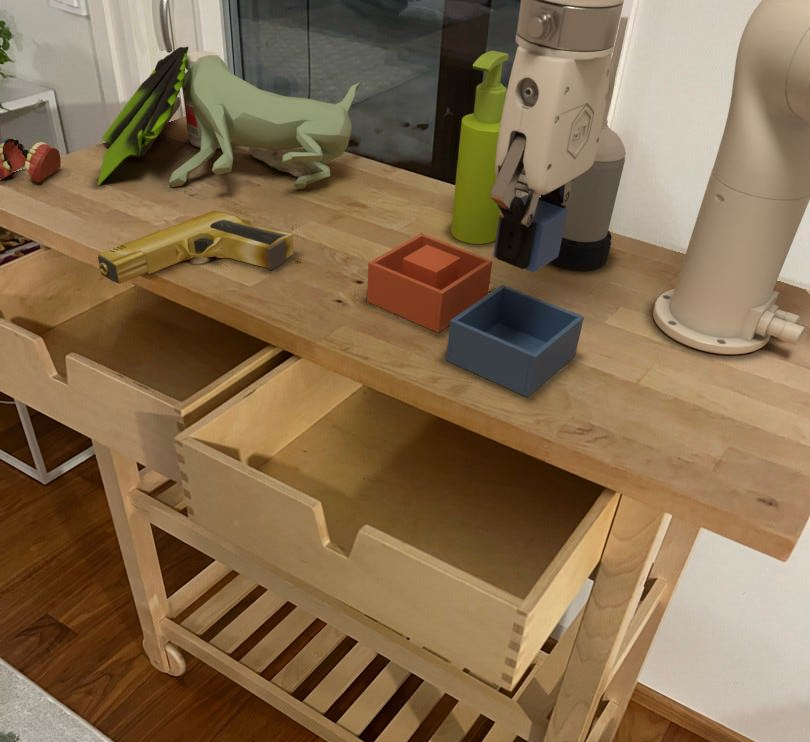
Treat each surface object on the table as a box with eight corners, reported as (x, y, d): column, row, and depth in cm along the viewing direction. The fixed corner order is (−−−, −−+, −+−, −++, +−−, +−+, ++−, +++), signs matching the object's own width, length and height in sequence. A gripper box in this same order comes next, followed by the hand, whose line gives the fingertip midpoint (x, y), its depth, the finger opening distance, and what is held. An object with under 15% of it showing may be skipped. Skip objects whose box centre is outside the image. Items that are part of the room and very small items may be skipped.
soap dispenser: (439, 239, 101) (455, 56, 87) (462, 218, 105) (482, 41, 91) (482, 251, 99) (506, 67, 85) (505, 230, 104) (531, 52, 90)
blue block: (558, 256, 76) (568, 209, 73) (534, 273, 73) (543, 225, 70) (517, 241, 78) (525, 194, 75) (492, 256, 75) (499, 209, 72)
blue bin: (575, 356, 84) (584, 316, 81) (527, 397, 79) (535, 357, 75) (496, 323, 88) (502, 284, 85) (445, 360, 82) (450, 320, 79)
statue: (373, 204, 116) (349, 70, 117) (378, 150, 103) (351, 2, 105) (180, 228, 113) (159, 91, 115) (161, 176, 100) (137, 23, 102)
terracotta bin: (487, 298, 91) (493, 260, 88) (438, 333, 86) (442, 293, 83) (418, 270, 95) (421, 232, 92) (367, 301, 90) (367, 262, 86)
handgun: (299, 236, 94) (228, 203, 99) (164, 294, 83) (92, 253, 88) (299, 257, 96) (230, 223, 101) (167, 316, 85) (97, 275, 90)
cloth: (165, 45, 115) (179, 59, 117) (75, 175, 116) (90, 187, 118) (214, 40, 100) (229, 57, 101) (110, 190, 101) (127, 204, 102)
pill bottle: (238, 137, 120) (231, 51, 112) (225, 152, 116) (217, 65, 108) (196, 132, 121) (187, 47, 113) (182, 147, 116) (171, 59, 108)
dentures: (37, 147, 102) (-21, 144, 103) (47, 183, 104) (-9, 179, 106) (61, 134, 106) (5, 132, 107) (70, 169, 109) (16, 166, 110)
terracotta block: (456, 295, 91) (460, 257, 87) (433, 310, 88) (436, 272, 85) (423, 282, 92) (426, 244, 89) (400, 296, 90) (402, 258, 87)
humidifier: (607, 244, 103) (663, 12, 85) (606, 275, 97) (666, 33, 79) (542, 235, 103) (584, 3, 86) (537, 265, 98) (581, 23, 80)
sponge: (243, 151, 115) (254, 122, 114) (266, 163, 119) (277, 134, 118) (301, 183, 110) (313, 152, 109) (323, 194, 114) (335, 164, 113)
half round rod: (156, 106, 126) (163, 117, 128) (121, 150, 112) (130, 162, 113) (179, 93, 125) (186, 105, 126) (147, 136, 111) (155, 148, 112)
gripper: (556, 57, 56) (513, 302, 69) (659, 16, 66) (605, 237, 79) (464, 32, 59) (440, 271, 72) (577, -3, 69) (537, 212, 82)
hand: (526, 251), depth 75 cm, fingers closed on blue block, 4 cm apart
